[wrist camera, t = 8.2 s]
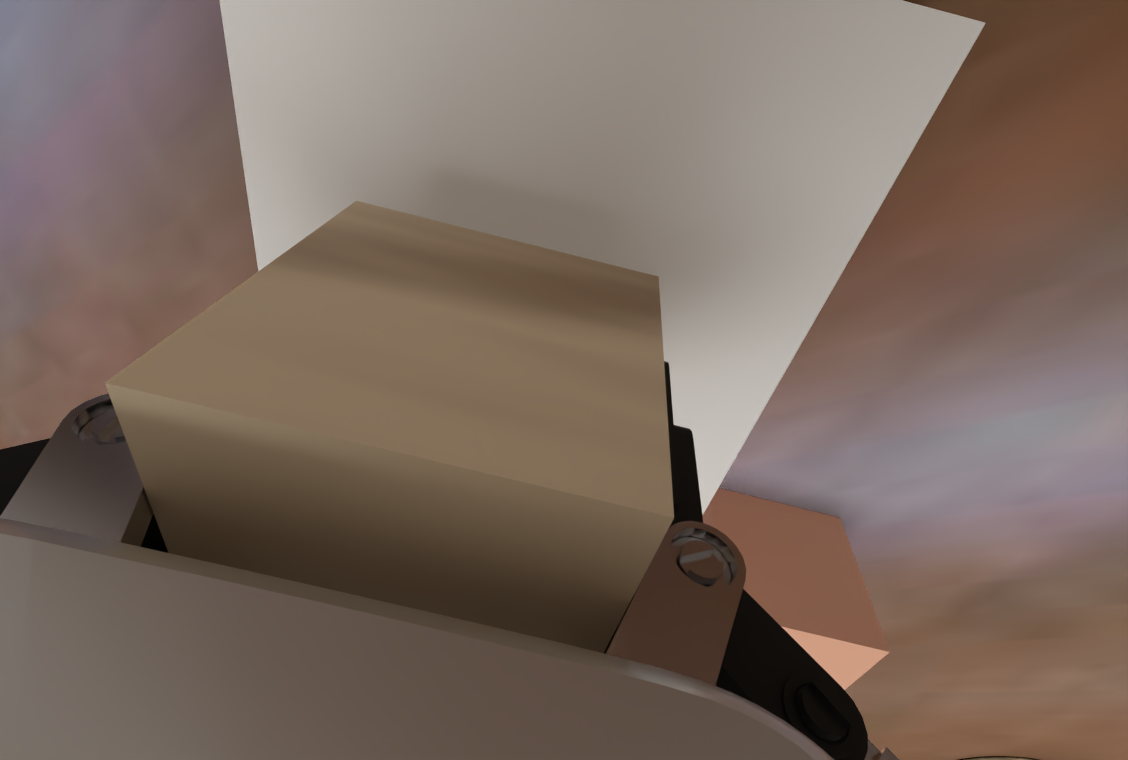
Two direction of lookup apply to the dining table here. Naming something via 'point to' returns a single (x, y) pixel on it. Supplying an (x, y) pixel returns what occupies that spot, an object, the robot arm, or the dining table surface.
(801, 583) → the terracotta cube
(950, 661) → the dining table surface
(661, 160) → the grey base board
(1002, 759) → the coffee can
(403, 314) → the brass cube
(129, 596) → the robot arm
